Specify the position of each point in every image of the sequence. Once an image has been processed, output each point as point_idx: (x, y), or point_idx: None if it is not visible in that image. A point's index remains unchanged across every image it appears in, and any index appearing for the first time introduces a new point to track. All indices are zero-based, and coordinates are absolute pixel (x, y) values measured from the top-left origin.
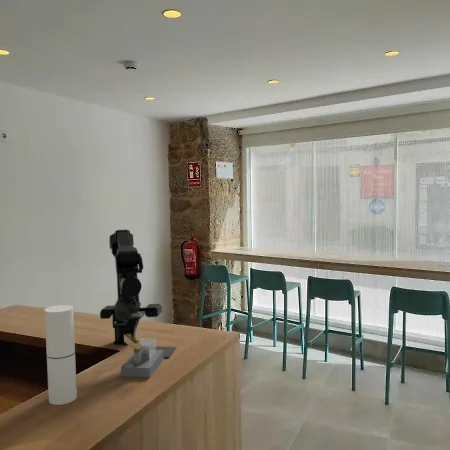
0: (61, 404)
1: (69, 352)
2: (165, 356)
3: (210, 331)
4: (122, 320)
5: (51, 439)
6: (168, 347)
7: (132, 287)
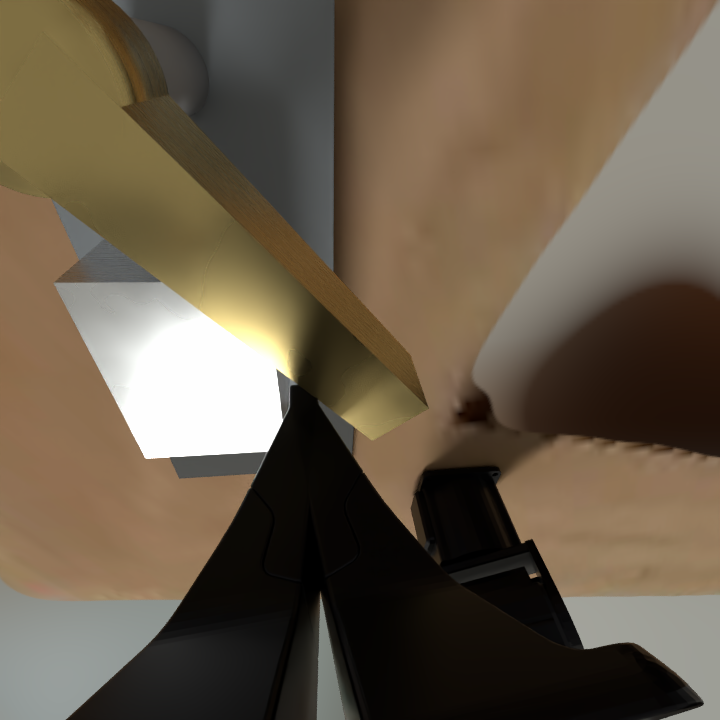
0: None
1: None
2: None
3: (141, 590)
4: (554, 655)
5: None
6: (213, 470)
7: None
